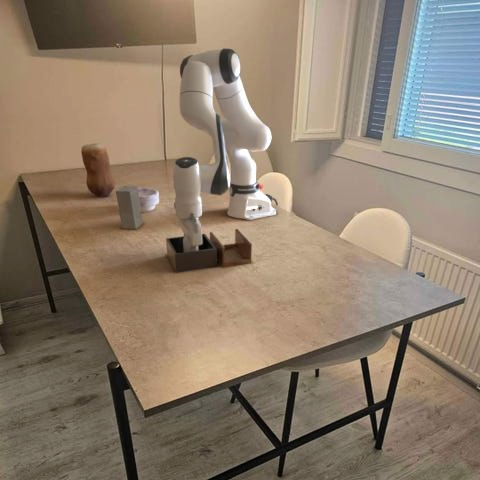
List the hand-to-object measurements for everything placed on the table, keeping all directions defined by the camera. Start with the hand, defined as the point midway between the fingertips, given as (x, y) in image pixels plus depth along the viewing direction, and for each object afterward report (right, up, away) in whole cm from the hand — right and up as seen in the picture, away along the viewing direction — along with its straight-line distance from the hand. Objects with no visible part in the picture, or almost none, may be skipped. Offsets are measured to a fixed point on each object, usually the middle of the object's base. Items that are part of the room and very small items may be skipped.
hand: (190, 247), depth 150 cm
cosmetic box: (-28, +14, +30) cm, 44 cm away
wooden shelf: (+14, -2, +6) cm, 15 cm away
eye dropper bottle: (0, -4, +3) cm, 5 cm away
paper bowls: (-28, +26, +48) cm, 62 cm away
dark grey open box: (0, -4, +3) cm, 5 cm away
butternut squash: (-51, +36, +63) cm, 89 cm away
